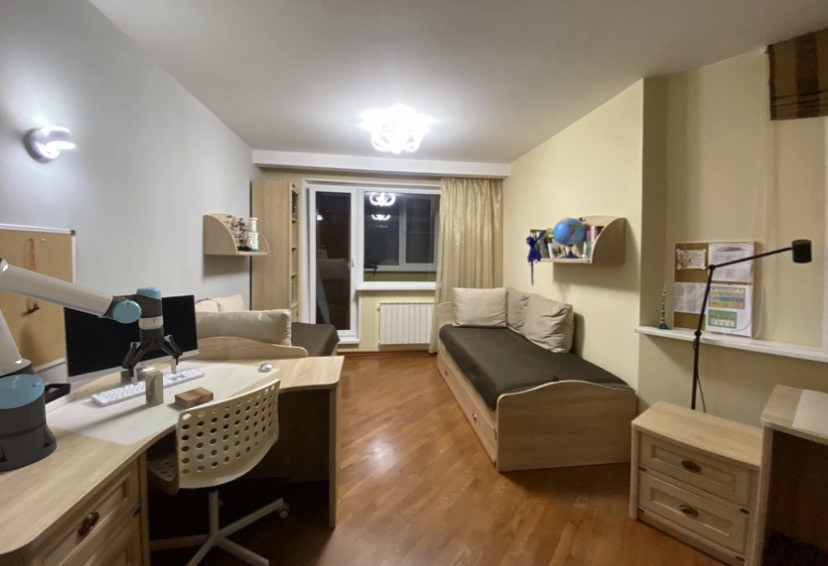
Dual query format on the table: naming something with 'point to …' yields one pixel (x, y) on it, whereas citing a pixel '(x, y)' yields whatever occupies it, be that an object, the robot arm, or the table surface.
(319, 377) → the table surface
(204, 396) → the base
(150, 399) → the box
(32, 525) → the table surface
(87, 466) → the table surface
